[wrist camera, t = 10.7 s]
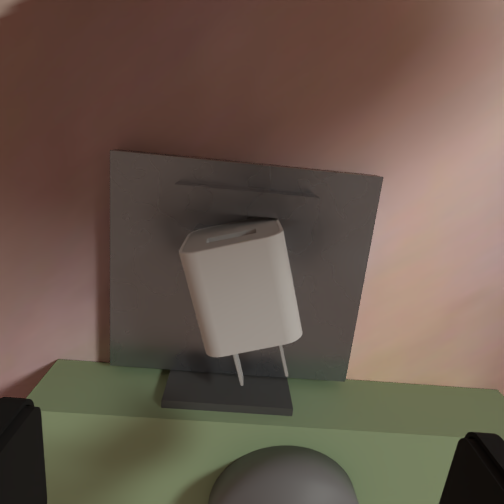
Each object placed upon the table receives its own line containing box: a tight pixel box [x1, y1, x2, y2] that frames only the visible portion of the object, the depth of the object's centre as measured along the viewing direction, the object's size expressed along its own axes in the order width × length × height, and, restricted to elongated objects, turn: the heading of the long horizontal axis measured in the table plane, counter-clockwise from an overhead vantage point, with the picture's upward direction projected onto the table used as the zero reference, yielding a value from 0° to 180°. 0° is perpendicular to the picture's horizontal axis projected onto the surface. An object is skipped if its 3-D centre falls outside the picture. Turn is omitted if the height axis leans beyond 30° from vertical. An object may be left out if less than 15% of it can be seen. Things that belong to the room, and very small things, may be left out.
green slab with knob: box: [26, 359, 504, 504], centre depth 20 cm, size 9×24×6 cm, turn 84°
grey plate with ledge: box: [110, 150, 383, 382], centre depth 18 cm, size 10×12×2 cm
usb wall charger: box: [179, 217, 302, 386], centre depth 17 cm, size 4×7×4 cm, turn 12°
